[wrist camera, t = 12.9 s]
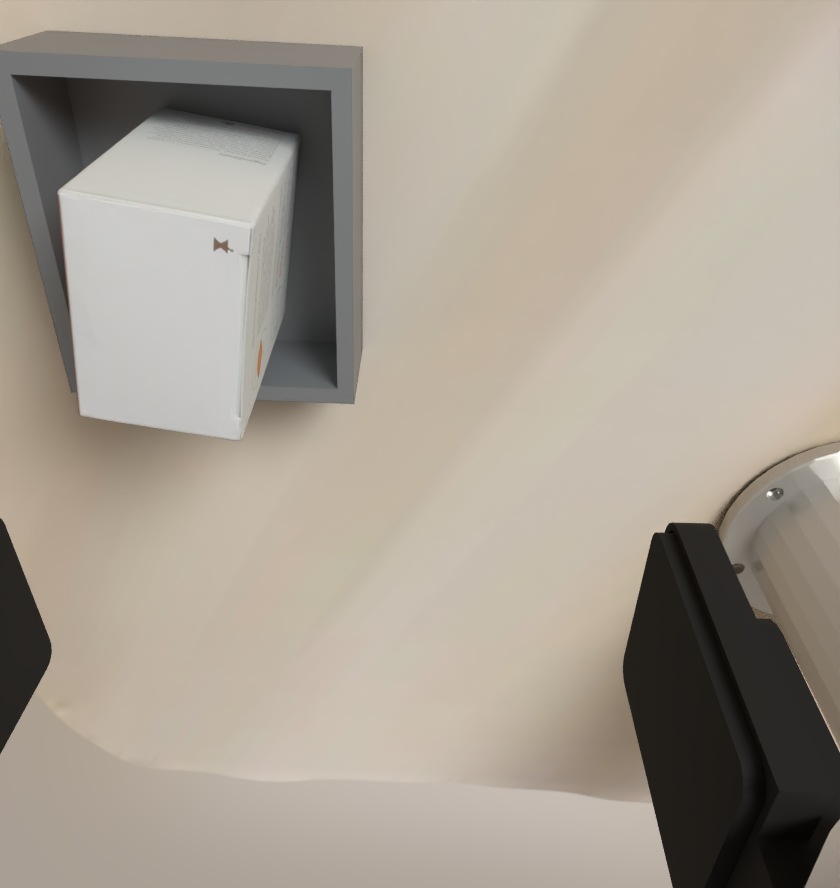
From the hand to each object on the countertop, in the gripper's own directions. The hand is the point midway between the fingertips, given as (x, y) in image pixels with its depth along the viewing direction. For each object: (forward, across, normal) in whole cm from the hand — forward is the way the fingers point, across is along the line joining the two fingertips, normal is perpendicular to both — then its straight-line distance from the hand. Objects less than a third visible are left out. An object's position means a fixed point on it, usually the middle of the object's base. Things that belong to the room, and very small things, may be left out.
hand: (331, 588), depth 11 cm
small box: (+24, +8, +2) cm, 25 cm away
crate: (+24, +8, +2) cm, 26 cm away
